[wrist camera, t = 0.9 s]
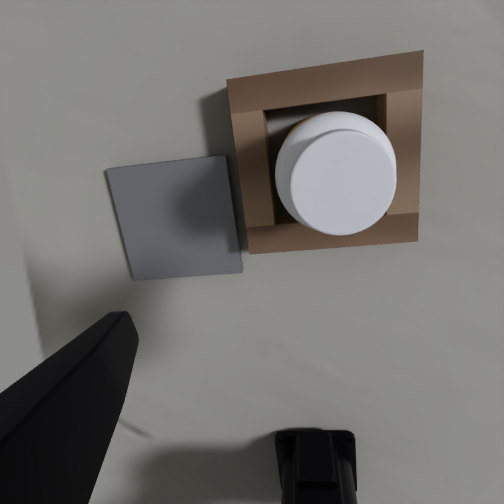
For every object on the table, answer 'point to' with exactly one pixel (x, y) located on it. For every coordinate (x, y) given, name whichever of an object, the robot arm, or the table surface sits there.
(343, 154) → the supplement bottle
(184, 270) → the rubber mat
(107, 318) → the robot arm
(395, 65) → the walnut collar
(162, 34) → the table surface
